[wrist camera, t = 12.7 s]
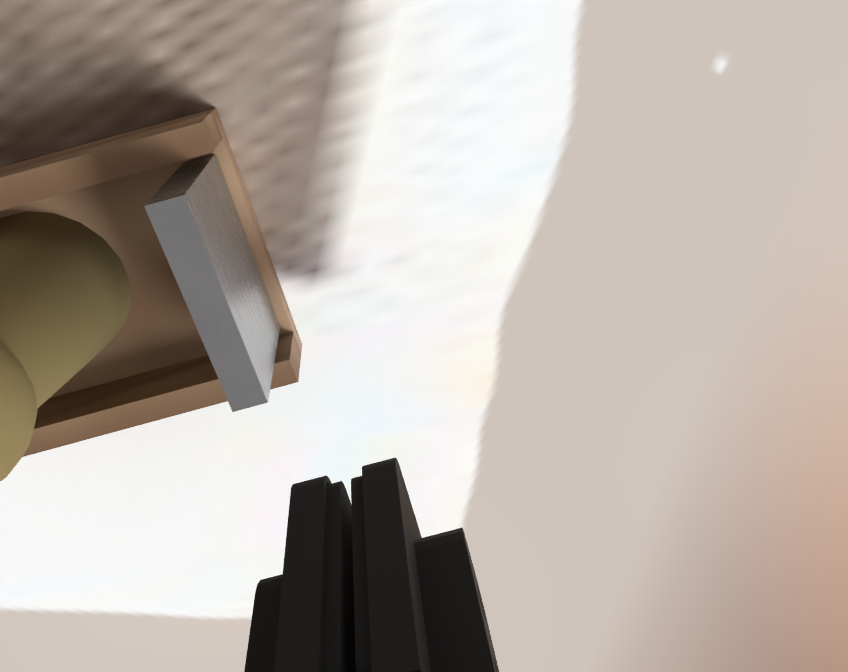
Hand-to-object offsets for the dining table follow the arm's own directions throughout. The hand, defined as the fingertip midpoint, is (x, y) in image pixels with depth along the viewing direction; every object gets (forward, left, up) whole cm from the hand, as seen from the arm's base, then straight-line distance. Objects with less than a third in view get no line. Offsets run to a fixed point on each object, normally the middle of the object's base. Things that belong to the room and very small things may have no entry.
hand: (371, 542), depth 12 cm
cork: (-1, -12, -19) cm, 22 cm away
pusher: (0, -5, -19) cm, 20 cm away
